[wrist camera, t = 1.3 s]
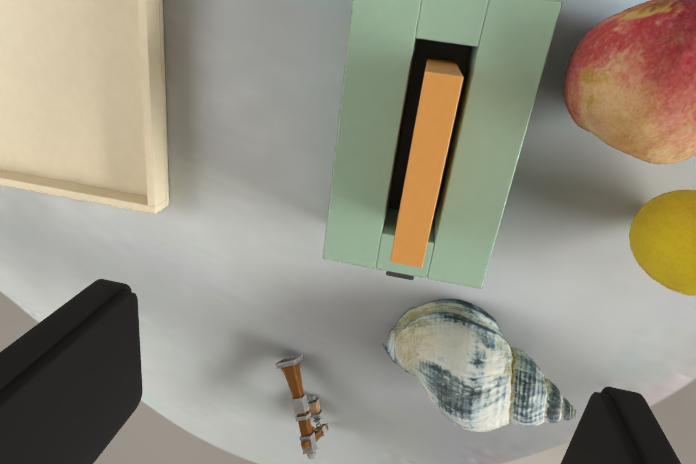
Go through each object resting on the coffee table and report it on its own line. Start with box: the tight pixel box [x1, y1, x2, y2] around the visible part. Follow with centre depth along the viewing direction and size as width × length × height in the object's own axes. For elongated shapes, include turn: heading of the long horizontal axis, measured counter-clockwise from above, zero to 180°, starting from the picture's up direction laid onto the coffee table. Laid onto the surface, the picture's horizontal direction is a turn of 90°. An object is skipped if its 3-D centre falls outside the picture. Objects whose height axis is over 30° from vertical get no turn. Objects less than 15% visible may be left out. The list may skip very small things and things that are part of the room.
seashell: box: [383, 299, 576, 432], centre depth 34 cm, size 6×8×12 cm
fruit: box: [564, 0, 696, 164], centre depth 24 cm, size 8×8×8 cm
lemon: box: [629, 190, 696, 296], centre depth 27 cm, size 6×6×8 cm
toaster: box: [323, 0, 562, 289], centre depth 29 cm, size 17×10×5 cm, turn 173°
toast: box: [390, 56, 463, 268], centre depth 26 cm, size 9×2×10 cm, turn 173°
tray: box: [0, 0, 169, 214], centre depth 33 cm, size 15×19×2 cm
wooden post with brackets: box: [275, 355, 329, 459], centre depth 40 cm, size 2×8×4 cm, turn 21°
